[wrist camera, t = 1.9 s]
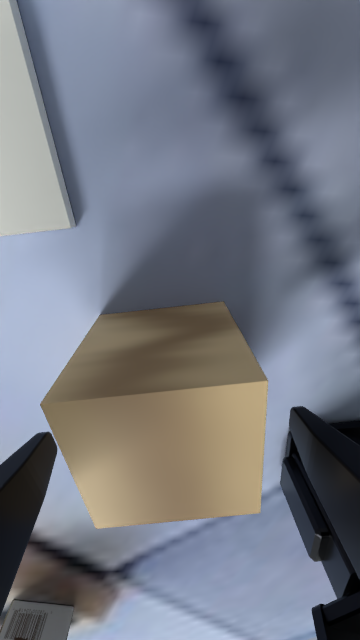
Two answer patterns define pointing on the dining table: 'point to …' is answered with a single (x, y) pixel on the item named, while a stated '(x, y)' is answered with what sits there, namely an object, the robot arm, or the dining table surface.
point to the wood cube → (162, 417)
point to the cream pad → (26, 141)
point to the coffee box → (36, 621)
